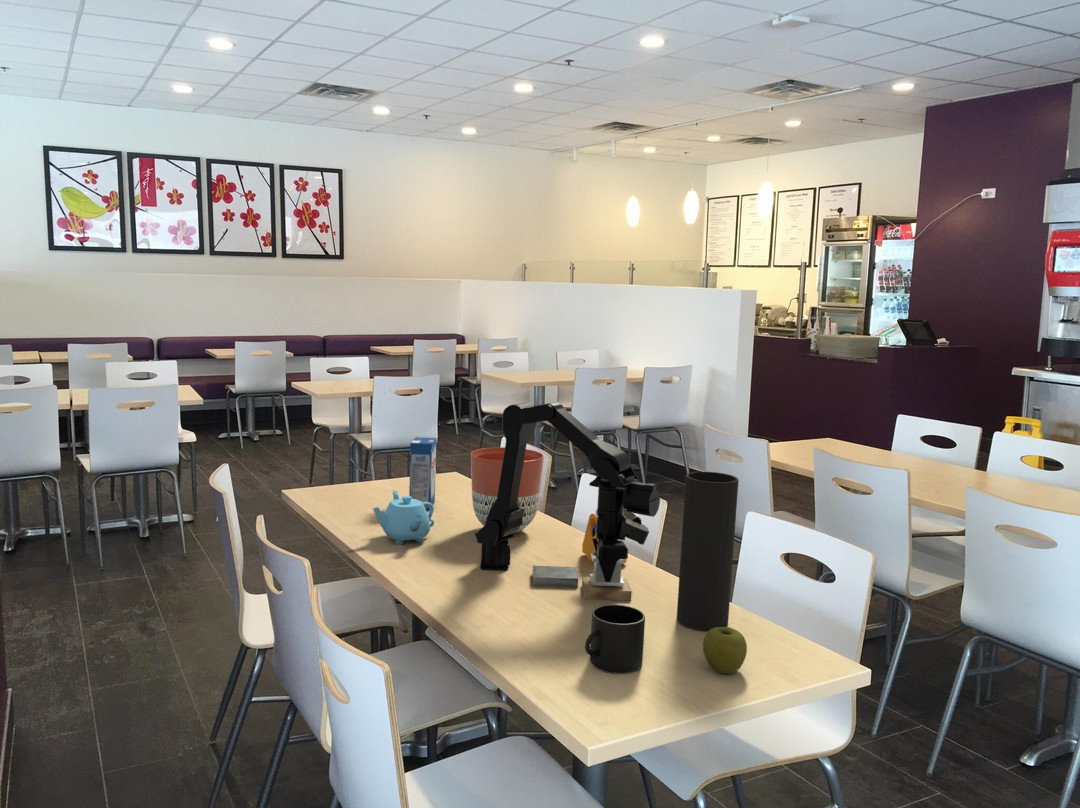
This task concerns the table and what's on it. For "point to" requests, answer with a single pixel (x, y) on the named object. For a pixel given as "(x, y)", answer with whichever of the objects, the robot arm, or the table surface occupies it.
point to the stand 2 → (606, 591)
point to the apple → (724, 649)
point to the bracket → (589, 538)
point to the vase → (707, 550)
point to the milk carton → (423, 470)
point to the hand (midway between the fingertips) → (606, 577)
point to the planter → (488, 476)
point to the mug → (616, 638)
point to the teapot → (405, 519)
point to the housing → (598, 576)
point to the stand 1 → (555, 576)
